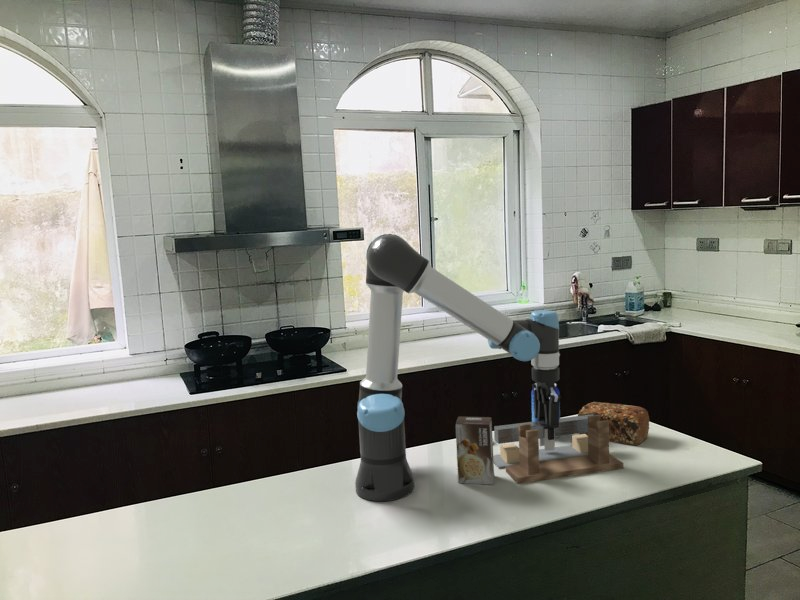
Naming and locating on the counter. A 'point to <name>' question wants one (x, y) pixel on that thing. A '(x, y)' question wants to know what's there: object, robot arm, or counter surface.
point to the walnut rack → (563, 467)
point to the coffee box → (474, 450)
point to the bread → (621, 421)
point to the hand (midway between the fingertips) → (546, 447)
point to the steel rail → (565, 428)
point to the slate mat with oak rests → (542, 452)
